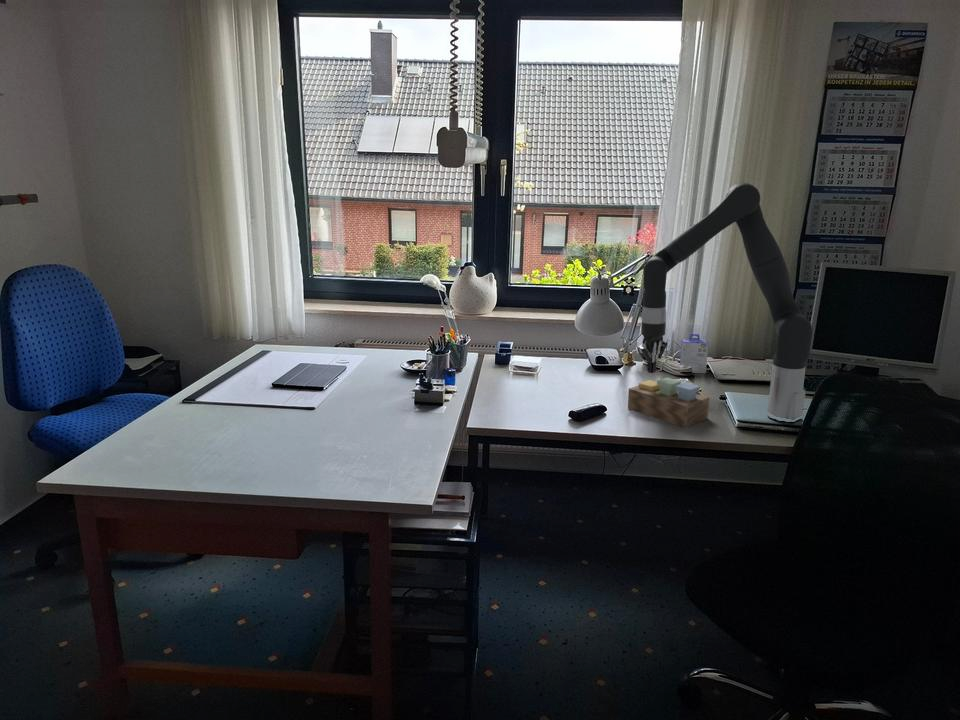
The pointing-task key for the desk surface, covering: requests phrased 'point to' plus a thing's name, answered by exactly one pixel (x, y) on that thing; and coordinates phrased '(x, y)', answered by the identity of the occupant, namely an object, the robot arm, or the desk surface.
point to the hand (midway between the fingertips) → (651, 372)
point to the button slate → (687, 391)
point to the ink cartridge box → (694, 353)
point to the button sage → (668, 386)
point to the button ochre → (649, 385)
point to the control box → (668, 406)
